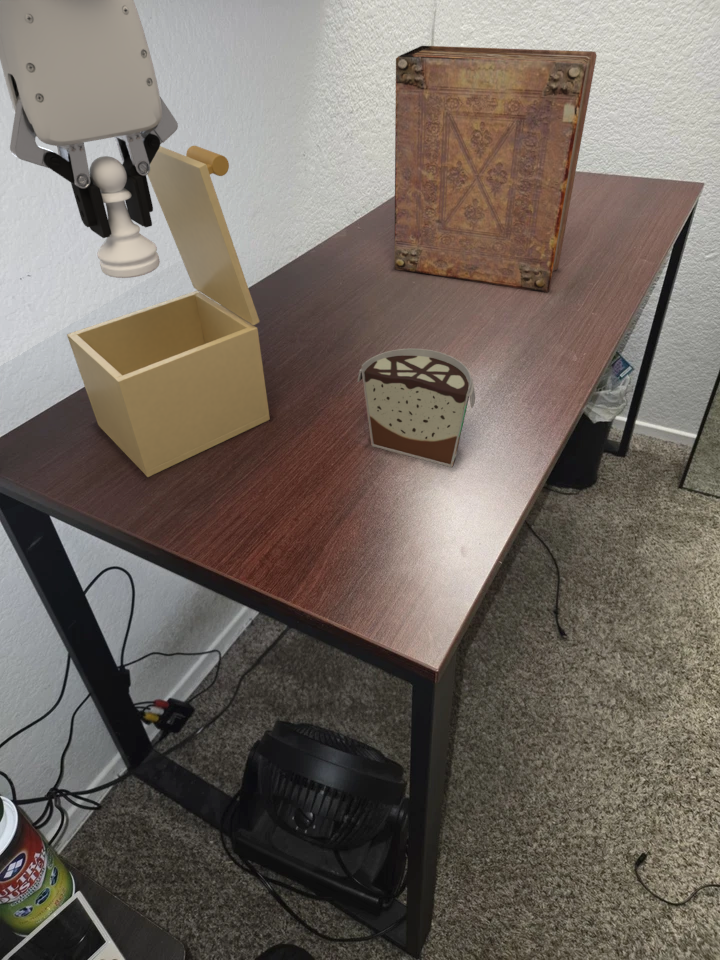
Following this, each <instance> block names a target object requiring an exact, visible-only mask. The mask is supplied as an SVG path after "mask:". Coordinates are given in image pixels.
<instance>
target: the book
mask: <svg viewBox="0 0 720 960" xmlns="http://www.w3.org/2000/svg"><path fill="white" fill-rule="evenodd" d="M597 57H598V56H597V53H596V51H594V50H593V51H590V50H588V51H587V50H563V49H561V50H560V49H531V48H504V47H503V48H501V47H499V48H498V47H473V46H471V47H470V46H446V45H445V46H444V45H443V46H442V45H441V46H440V45H420V46H418V47H416V48H414V49H410V50H409V51H407V52H404V53H402V54H400V55H397V57H396V58H395V111H394V112H395V113H394V115H395V117H394V119H395V122H394V123H395V128H394V129H395V131H394V132H395V133H394V134H395V136H394V137H395V138H394V139H395V140H394V150H395V151H394V155H395V156H394V250H393V251H394V256H393V257H394V261H393V265H394V267H393V268H394V269H395V270H399V271H406V272H410V273H411V272H412V273H418V274H425V275H431V276H437V277H443V278H451V279H456V280H463V281H468V282H469V281H470V282H477V283H482V284H489V285H496V286H502V287H508V288H515V289H522V290H528V291H534V292H539V293H540V292H541V293H545V294H546V293H548V292H549V291H550V290H551V284H552V278H553V273H554V271H557V270H558V269H559V267H560V261H561V260H560V259H561V255H562V250H563V244H564V239H565V233H566V228H567V227H566V226H567V221H568V218H569V217H568V216H569V211H570V204H571V199H572V193H573V189H574V183H575V178H576V172H577V166H578V161H579V155H580V150H581V146H582V145H581V143H582V138H583V133H584V128H585V122H586V117H587V111H588V106H589V100H590V95H591V88H592V84H593V78H594V72H595V67H596V61H597Z"/></svg>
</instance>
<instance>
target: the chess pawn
mask: <svg viewBox="0 0 720 960" xmlns="http://www.w3.org/2000/svg"><path fill="white" fill-rule="evenodd" d="M122 164H123V163H122V162H120V160H118V159H117V158H115V157H112V156H108V155H106V156H105V155H103V156H99V157H97V158H95V159H94V160H93V161H92V162H91V164H90V166H89V174H90V177H92V181H93V184H94V185H96V186H98V187H99V189H100V191H101V195H102V199H103V203H104V204H105V209H106V214H107V218H108V222H109V226H110V229H111V235H110V237H107V238H105V240H104V242H103V243H102V244H101V246H100V247H99V248H98V250H97V252H96V254H97V258H98V259H99V265H100V269H101V272H102V273H103V274H104V275H106V276H108V277H110V278H111V277H112V278H117V279H131V278H136V277H137V278H138V277H141V276H145V275H148V274H150V273H152V272H154V271H156V269H158V267H159V266H160V264H161V260H160V256H159V254H158V253H159V252H157V251H158V246H157V245H156V243H155V242H153V241H152V240H151V239H149V238H147V237H146V236H144V235H143V234H141V233H140V231H141V227H140V226H139V224H137V223H134V221H133V220H131V218H130V216H129V213H128V210H127V206H126V202H125V200H127V199H129V198H130V197H131V196H132V195H131V193H130V192H129V191H128V190H126V189H125V188H124V186H125V184H126V181H127V174H126V171H125V169H124V167H123V165H122Z"/></svg>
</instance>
